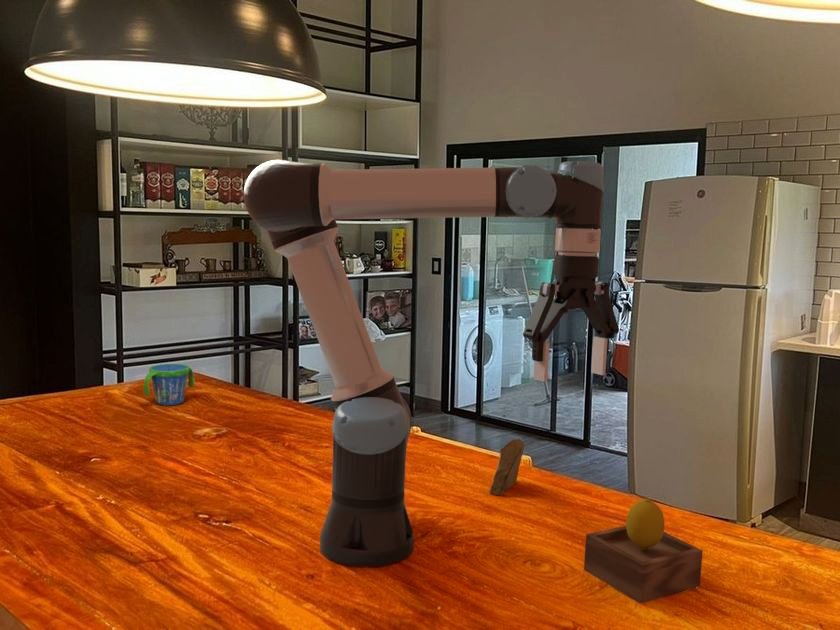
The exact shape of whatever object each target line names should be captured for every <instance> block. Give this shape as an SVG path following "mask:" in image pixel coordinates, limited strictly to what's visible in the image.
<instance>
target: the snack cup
mask: <svg viewBox="0 0 840 630" xmlns="http://www.w3.org/2000/svg"><path fill="white" fill-rule="evenodd" d="M150 380H151V382H152V389H153V395H154V400H155V403H156V404H157V405H159V406H160V405H161V406H176V405H180V404H183V403H184V401H185V396H186V387H187V386H188V387H189V388H194V387H195V383H196V381H195V380H196V379H195V375H194V371H193V369H192V368H191V367H189V366H188V365H186V364H182V363H181V364H180V363H164V364H162V363H161V364H157V365H153V366H150V367H149V371H148V373H147V374H146V376H145V378H144V381H143V385H142V386H143V387H142V391H143V395H145V396H146V397H149V396H150V395H151V391H150V385H149V384H150V383H149V382H150Z"/></svg>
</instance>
